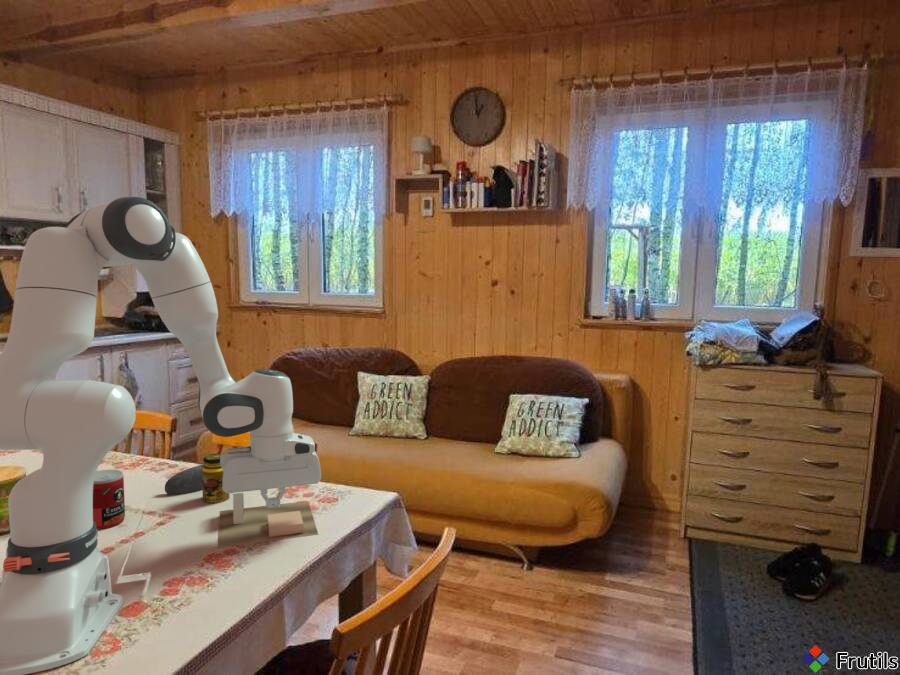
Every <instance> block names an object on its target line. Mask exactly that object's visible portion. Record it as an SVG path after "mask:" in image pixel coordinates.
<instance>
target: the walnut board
mask: <svg viewBox="0 0 900 675" xmlns="http://www.w3.org/2000/svg"><path fill="white" fill-rule="evenodd" d="M294 511H300V513H301V517H302V520H303V533H296V534H288V535H281V536H273V537H269V531H268V523H267V515H269V514H277V513H285V512H294ZM217 534H218V535H217V549H220V548H227V547H235V546H242V545H244V546H245V545H249V544H257V543H265V542H272V541H273V542H274V541H280V540H287V539H294V538H295V539H296V538H302V537H310V536H317V535H318V536H319V532H318V528H317V525H316V522H315V519H314V516H313V512H312V509H311V505H310V502H309V500H304V501H297V502H296V501H295V502H286V503H280V507H276V508H268V509H266V505H263V506H262V505H261V506H252V507H244V516H243V523H241V524H234V520H233V509H226V510H219V522H218V532H217Z"/></svg>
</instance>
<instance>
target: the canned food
mask: <svg viewBox="0 0 900 675" xmlns="http://www.w3.org/2000/svg"><path fill="white" fill-rule="evenodd" d="M124 478H125V477H124V472H123V471H122V470H118V469H101V470H97V471H96V474H95V478H94V483H93V521H94V522H95V523H96V528H97V530H105V529H110V528H113V527H116V526H118V525H121V524H122V523H123V522H124V521H125V518H126V509H125V508H126V507H125V505H126V504H125V479H124Z"/></svg>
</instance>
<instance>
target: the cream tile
mask: <svg viewBox="0 0 900 675" xmlns="http://www.w3.org/2000/svg"><path fill="white" fill-rule="evenodd" d="M244 502H245V501H244V492H236V493H232V508H233V509H232V510H233V520H234V524H241V523H243V516H244V508H245V507H244V504H245V503H244Z"/></svg>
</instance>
